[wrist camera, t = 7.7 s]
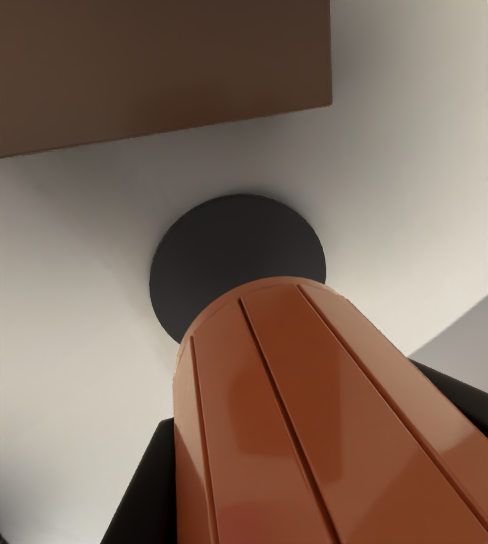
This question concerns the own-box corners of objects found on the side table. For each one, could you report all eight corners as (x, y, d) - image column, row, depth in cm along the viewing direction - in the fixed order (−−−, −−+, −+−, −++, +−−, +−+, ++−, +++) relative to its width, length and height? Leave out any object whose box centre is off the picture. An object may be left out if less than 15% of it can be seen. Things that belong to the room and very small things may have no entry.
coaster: (324, 331, 17) (329, 338, 17) (173, 369, 16) (173, 377, 16) (317, 178, 14) (322, 180, 14) (127, 213, 13) (125, 218, 13)
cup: (359, 406, 12) (549, 688, 6) (197, 452, 11) (231, 821, 5) (360, 255, 9) (678, 479, 4) (152, 301, 9) (126, 673, 3)
